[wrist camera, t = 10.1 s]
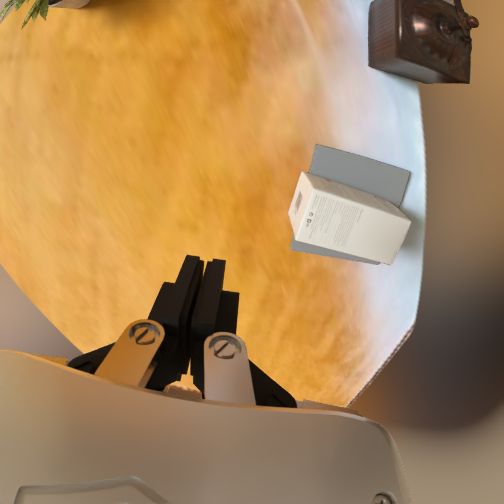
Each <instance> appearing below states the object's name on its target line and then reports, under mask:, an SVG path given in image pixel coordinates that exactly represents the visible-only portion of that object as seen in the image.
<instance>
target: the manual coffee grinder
mask: <svg viewBox="0 0 504 504" xmlns="http://www.w3.org/2000/svg"><path fill="white" fill-rule="evenodd" d="M454 5H455V6H453V5H451V4H449V3H447V2H445V1H443V0H374V1H373V2H371V4H370V8H369V21H368V57H369V63H368V66H370V67H373V68H376V69H379V70H382V71H386V72H389V73H393V74H396V75H400V76H403V77H406V78H410V79H413V80H416V81H419V82H422V83H425V84H433V83H466V84H469V82H470V58H471V57H470V54H471V50H472V46H471V45H472V44H471V42H472V39H471V38H470V30H471V28H476V27H478V25H479V22H478V20H477V19H476V18H475V17H473V16H468V14H467V13H466V12H464V9H463V7H462V3H461V0H454Z"/></svg>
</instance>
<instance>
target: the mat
mask: <svg viewBox="0 0 504 504" xmlns="http://www.w3.org/2000/svg"><path fill="white" fill-rule="evenodd" d="M309 173H310V174H313V175H316V176H319V177H323V178H326V179H329V180H332V181H335V182H338V183H341V184H344V185H347V186H350V187H353V188H356V189H359V190H361V191H364V192H367V193H370V194H372V195H375V196H378V197H381V198H383V199H386V200H388V201H389V202H390V203H392V204H393V205H394V206H395V207H397V208H398V209H399V206H400V203H401V200H402V197H403V194H404V191H405V187H406V184H407V181H408V177H409V174H410V172H409V171H408V170H405V169H402V168H399V167H396V166H393V165H389V164H386V163H383V162H380V161H377V160H373V159H370V158H367V157H363V156H360V155H356V154H353V153H349V152H345V151H342V150H338V149H334V148H330V147H326V146H322V145H318V144H316V145H315V149H314V153H313V158H312V162H311V166H310V171H309ZM290 248H291V250H293V251H299V252H305V253H311V254H317V255H323V256H329V257H335V258H341V259H346V260H352V261H358V262H364V263H370V264H375V265H378V263H379V262H377V261H373V260H369V259H366V258H362V257H358V256H354V255H350V254H346V253H343V252H339V251H335V250H331V249H327V248H323V247H319V246H315V245H311V244H307V243H303V242H300V241H296V240H295V236H294V235H293V239H292V243H291V247H290Z"/></svg>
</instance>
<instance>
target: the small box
mask: <svg viewBox="0 0 504 504" xmlns="http://www.w3.org/2000/svg"><path fill="white" fill-rule="evenodd" d="M288 215H289V217H290V221H291V224H292V228H293V232H294V236H295V240H296V241H300V242H303V243H307V244H311V245H315V246H319V247H323V248H327V249H331V250H335V251H339V252H343V253H346V254H350V255H354V256H358V257H362V258H366V259H369V260H373V261H377V262H381V263H384V264H388V265H392V263H393V261H394V259H395V257H396V255H397V253H398V251H399V249H400V247H401V245H402V243H403V241H404V239H405V237H406V234H407V232H408V230H409V227H410V225H411V222H412V221H411V220H410V219H409V218H408V217H407V216H405V215H404V214H403V213H402V211H400V210H399V209H398V208H397V207H395V206H394V205H393V204H392V203H390V202H389V201H388V200H386V199H383V198H381V197H378V196H375V195H372V194H370V193H367V192H364V191H361V190H359V189H356V188H353V187H350V186H347V185H344V184H341V183H338V182H335V181H332V180H329V179H326V178H323V177H319V176H316V175H313V174H310V173H307V172H304V171H302V173H301V175H300V178H299V181H298V184H297V187H296V191H295V194H294V197H293V200H292V203H291V206H290V209H289V212H288Z"/></svg>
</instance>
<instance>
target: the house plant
mask: <svg viewBox="0 0 504 504" xmlns="http://www.w3.org/2000/svg"><path fill="white" fill-rule="evenodd" d="M14 1H16V2H17V0H11V1H9V2H7V3H6V6H5V7H4V9H3V11H2V12H1V14H0V19H1V17H2V15H3V14H4V12H5V11H6V10H7V11H8V9H9V8H10V7H11V6H12V5H13V4H12V3H13V2H14ZM24 1H25V0H18V2H17V4H16V7H15V11H17V10H18V9H19V8H20V6H21V5H22V4H23V2H24ZM90 1H91V0H36V2H35V3H34V5H33V6H32V8H31V9H30V11H29V13H28V14H27V16H26V18H25V21H24V23H23V26H22V28H23V27H24V26H25V25H26V23H27V22H28V20H29V19H30V17H31V16H32V18H33V20H34V22H35V19H36V17H37V15H38V13H39V10H40V15H41V16H42V17H43V18H44V19H45V20H46V16H47V12H48V7H58V8H70V9H78V8H81V7H83V6H85V5H86V4H88V3H89V2H90ZM26 2H27V4H28V2H29V0H27V1H26ZM11 4H12V5H11ZM10 5H11V6H10ZM9 6H10V7H9ZM8 7H9V8H8ZM7 8H8V9H7ZM7 11H6V12H7ZM5 14H6V13H5ZM5 14H4V15H5ZM3 17H4V16H3Z"/></svg>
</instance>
